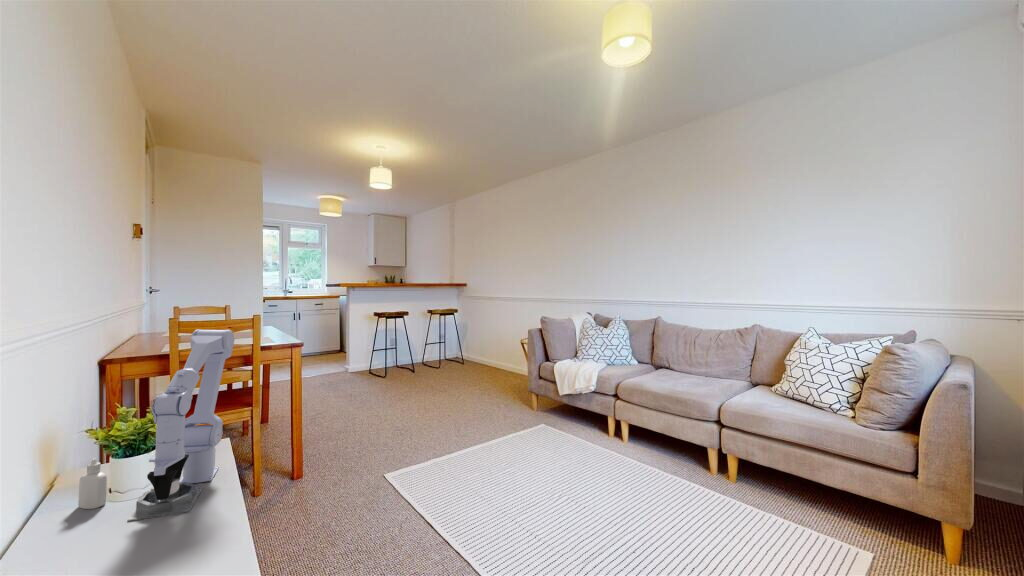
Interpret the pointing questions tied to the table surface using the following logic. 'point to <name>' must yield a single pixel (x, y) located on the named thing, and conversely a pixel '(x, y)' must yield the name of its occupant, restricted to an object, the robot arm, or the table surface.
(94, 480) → the eye dropper bottle
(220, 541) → the table surface
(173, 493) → the silver short rounded cylinder
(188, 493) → the collar
